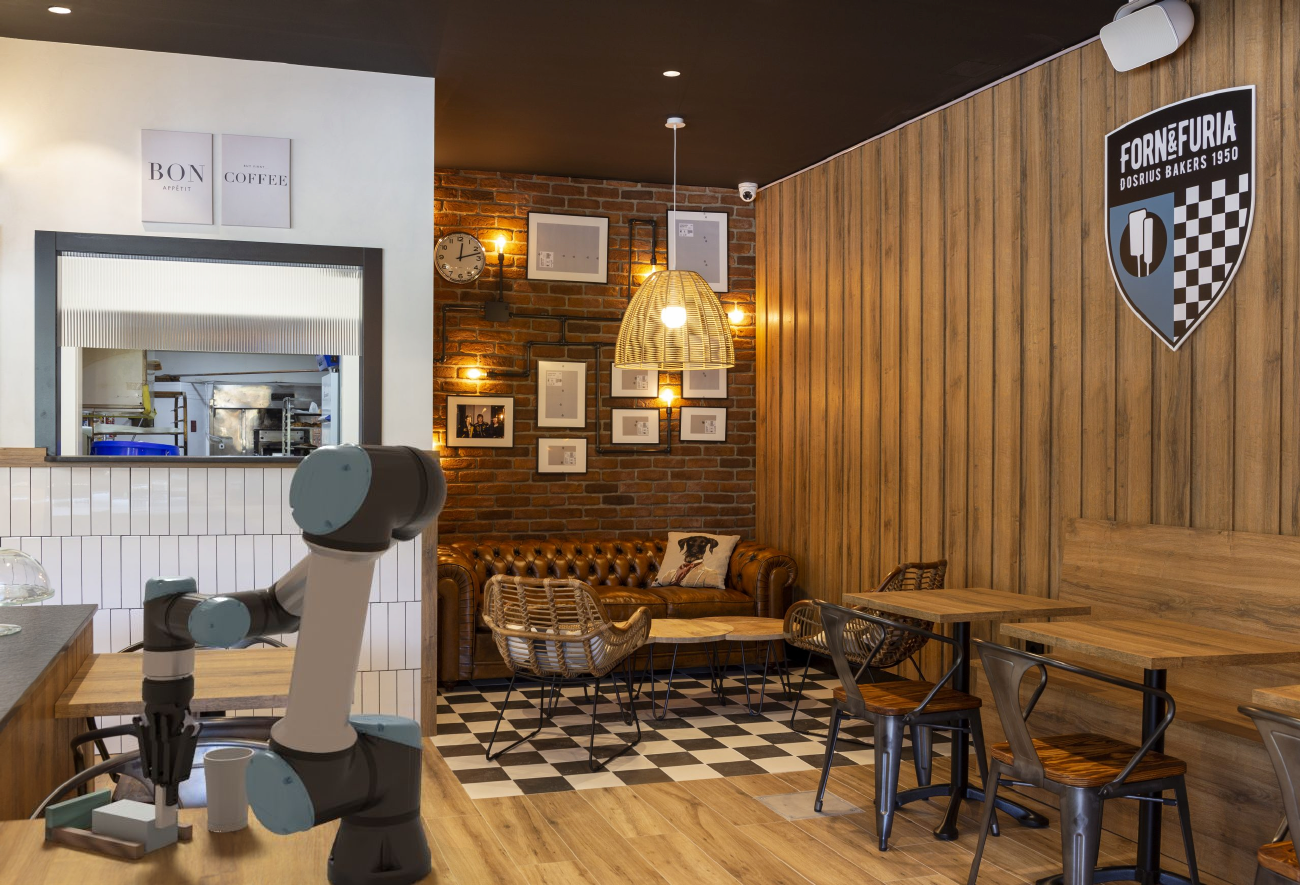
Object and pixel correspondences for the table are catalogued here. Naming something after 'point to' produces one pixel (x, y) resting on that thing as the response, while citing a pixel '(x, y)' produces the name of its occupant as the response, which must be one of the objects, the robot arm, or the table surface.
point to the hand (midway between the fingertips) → (165, 825)
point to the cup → (226, 788)
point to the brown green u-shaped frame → (77, 815)
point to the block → (133, 824)
